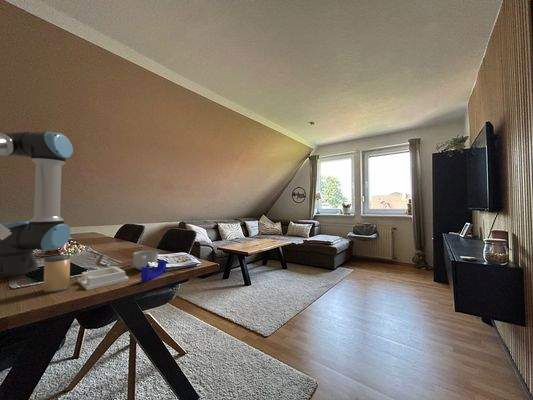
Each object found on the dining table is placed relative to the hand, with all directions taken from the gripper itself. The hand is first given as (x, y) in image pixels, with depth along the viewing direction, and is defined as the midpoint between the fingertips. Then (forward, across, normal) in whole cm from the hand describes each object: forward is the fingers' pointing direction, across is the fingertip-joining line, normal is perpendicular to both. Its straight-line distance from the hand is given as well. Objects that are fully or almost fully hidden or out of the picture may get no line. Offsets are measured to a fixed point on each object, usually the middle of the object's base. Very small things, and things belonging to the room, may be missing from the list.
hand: (6, 235), depth 74 cm
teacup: (+47, -4, +17) cm, 50 cm away
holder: (+34, +2, +4) cm, 34 cm away
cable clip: (+45, +11, +15) cm, 49 cm away
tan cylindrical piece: (+24, 0, -6) cm, 25 cm away
